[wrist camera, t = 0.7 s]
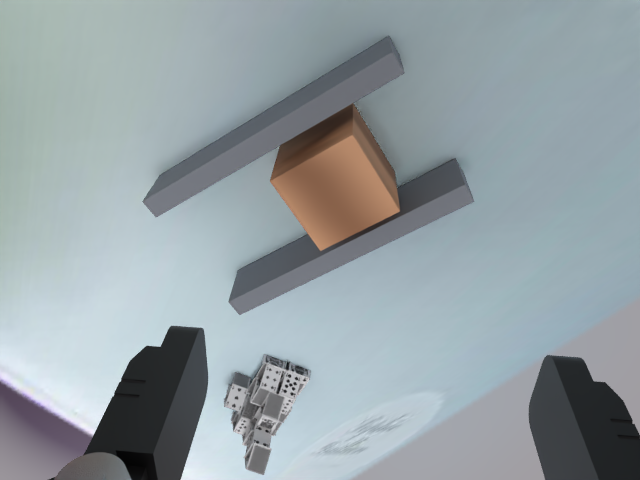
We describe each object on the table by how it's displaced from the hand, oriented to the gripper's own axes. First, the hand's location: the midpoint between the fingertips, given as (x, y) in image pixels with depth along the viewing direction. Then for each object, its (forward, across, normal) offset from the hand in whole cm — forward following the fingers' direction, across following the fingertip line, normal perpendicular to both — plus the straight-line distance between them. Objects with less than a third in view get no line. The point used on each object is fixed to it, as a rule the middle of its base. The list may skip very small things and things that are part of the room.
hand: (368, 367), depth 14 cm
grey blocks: (+22, +3, +6) cm, 23 cm away
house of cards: (+22, +8, +23) cm, 33 cm away
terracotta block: (+22, +1, +5) cm, 23 cm away
